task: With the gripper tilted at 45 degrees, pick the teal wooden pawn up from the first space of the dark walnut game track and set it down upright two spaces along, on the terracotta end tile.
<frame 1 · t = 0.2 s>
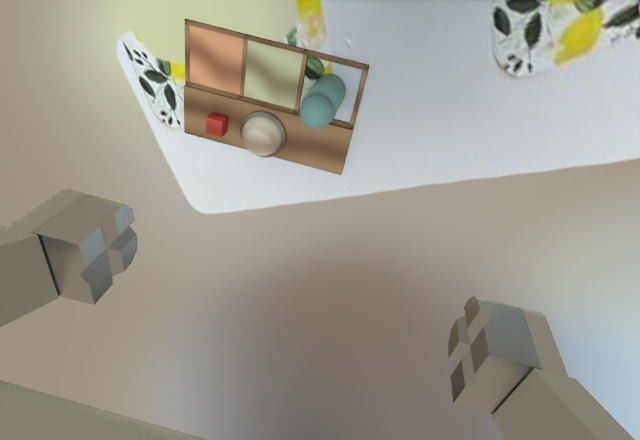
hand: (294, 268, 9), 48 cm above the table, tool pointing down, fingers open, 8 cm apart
game board: (272, 75, 55), on the table
pawn: (329, 90, 55), resting in game board
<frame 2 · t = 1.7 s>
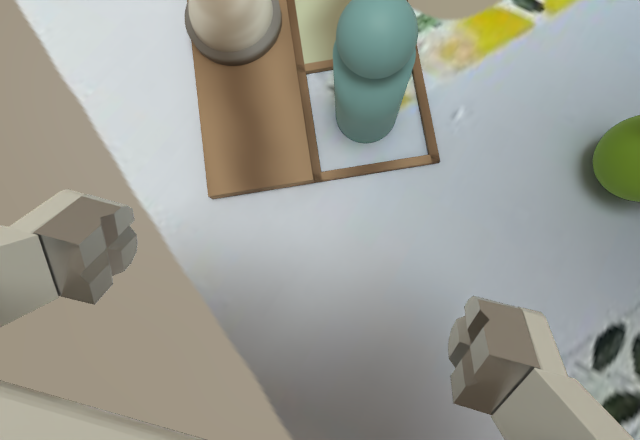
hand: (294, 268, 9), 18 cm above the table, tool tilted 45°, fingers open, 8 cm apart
game board: (347, 11, 30), on the table
snail figurine: (607, 166, 27), on the table
pawn: (365, 114, 29), resting in game board
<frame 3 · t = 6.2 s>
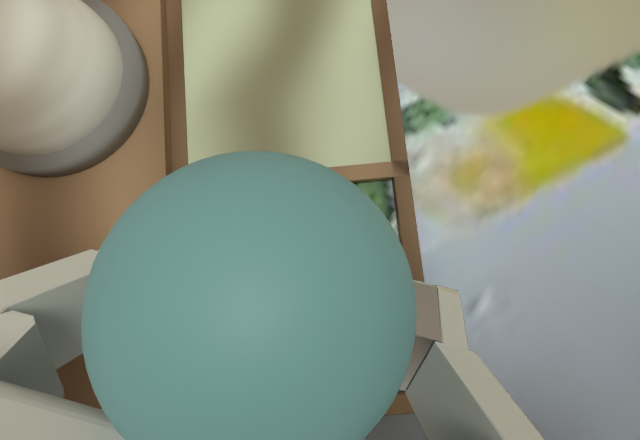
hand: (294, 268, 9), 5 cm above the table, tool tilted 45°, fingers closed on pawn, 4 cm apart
game board: (283, 81, 16), on the table
pawn: (300, 290, 14), resting in game board, touching gripper
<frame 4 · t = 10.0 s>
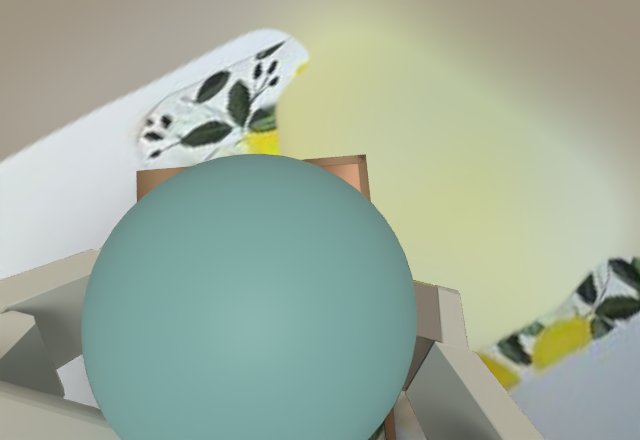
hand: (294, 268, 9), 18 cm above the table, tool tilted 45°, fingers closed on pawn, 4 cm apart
game board: (319, 341, 27), on the table
pawn: (300, 291, 14), point 13 cm above the table, touching gripper
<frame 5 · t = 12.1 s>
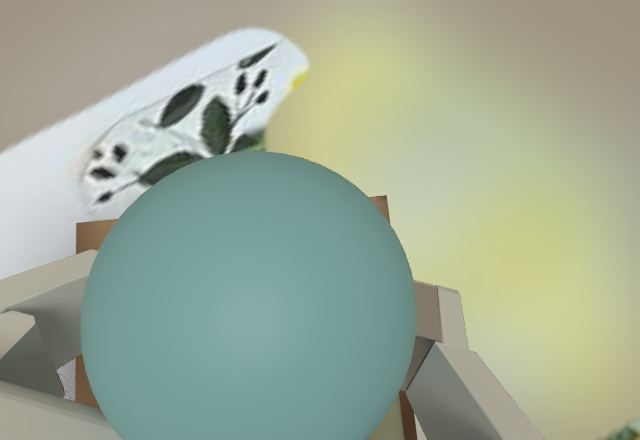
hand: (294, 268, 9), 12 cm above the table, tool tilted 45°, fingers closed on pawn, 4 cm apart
pawn: (300, 290, 14), point 6 cm above the table, touching gripper
when the fingers open (7 cm above the table, at t = 14.0 s): pawn stays where it is, resting on game board.
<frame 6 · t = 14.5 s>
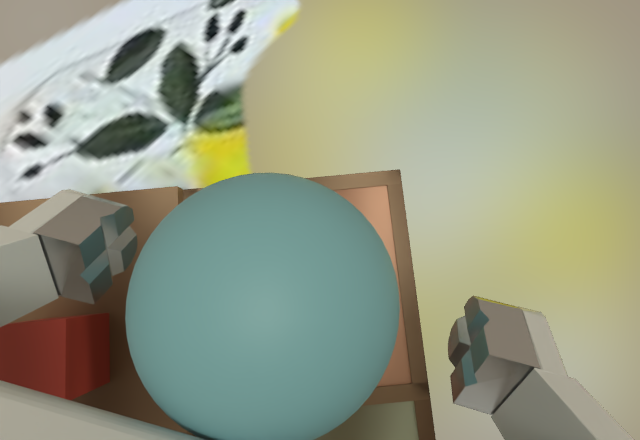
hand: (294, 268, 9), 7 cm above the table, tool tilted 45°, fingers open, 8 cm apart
pawn: (301, 290, 15), resting on game board
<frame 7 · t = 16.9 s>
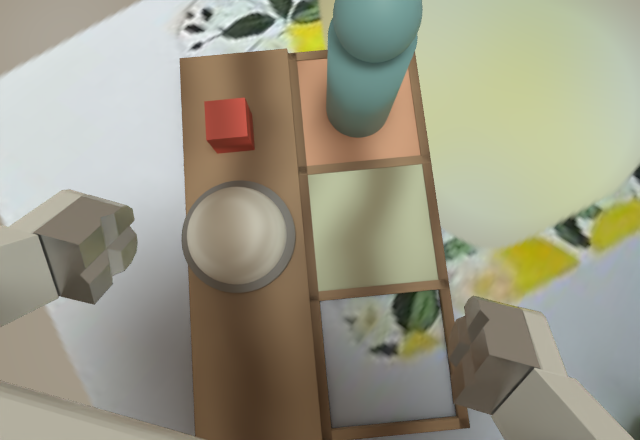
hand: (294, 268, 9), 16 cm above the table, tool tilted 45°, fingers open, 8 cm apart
game board: (371, 226, 26), on the table
pawn: (357, 107, 27), resting on game board
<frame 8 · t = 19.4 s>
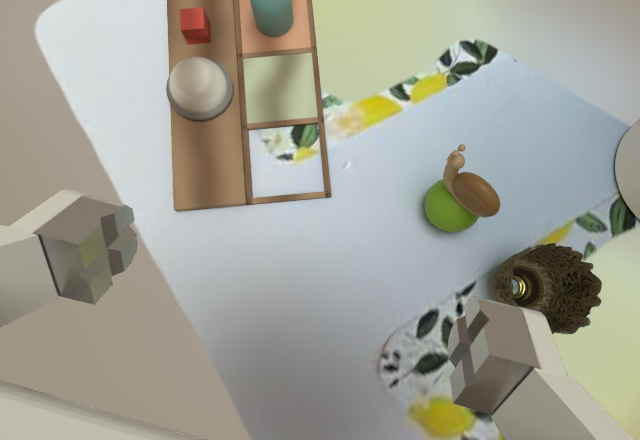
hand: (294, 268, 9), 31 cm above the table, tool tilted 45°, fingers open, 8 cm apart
game board: (280, 88, 44), on the table
snail figurine: (440, 206, 41), on the table
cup: (510, 286, 40), on the table
pawn: (274, 19, 45), resting on game board
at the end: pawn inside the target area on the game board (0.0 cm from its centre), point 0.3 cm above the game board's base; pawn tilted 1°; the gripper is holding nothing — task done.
